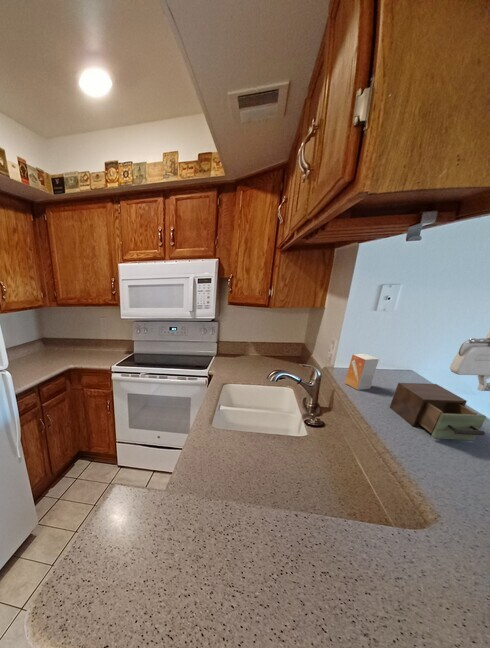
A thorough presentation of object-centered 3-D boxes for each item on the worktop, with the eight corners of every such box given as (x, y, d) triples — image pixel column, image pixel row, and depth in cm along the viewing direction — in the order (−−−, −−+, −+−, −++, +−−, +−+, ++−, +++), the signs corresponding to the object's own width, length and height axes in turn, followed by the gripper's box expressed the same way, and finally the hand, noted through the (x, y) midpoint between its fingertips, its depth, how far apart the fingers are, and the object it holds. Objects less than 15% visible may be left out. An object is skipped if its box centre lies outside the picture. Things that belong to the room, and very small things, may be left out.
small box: (344, 383, 143) (352, 354, 137) (357, 382, 144) (365, 353, 138) (356, 390, 136) (365, 359, 130) (370, 389, 137) (379, 358, 131)
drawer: (485, 447, 93) (498, 423, 90) (442, 445, 94) (454, 421, 91) (443, 419, 110) (453, 397, 106) (407, 417, 111) (415, 396, 107)
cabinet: (454, 428, 106) (467, 400, 101) (412, 426, 107) (423, 399, 103) (426, 408, 120) (436, 383, 115) (389, 407, 121) (398, 382, 116)
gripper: (473, 341, 81) (451, 393, 87) (566, 341, 79) (536, 395, 85) (455, 335, 86) (436, 385, 93) (542, 336, 84) (516, 387, 91)
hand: (484, 390), depth 89 cm, fingers closed
